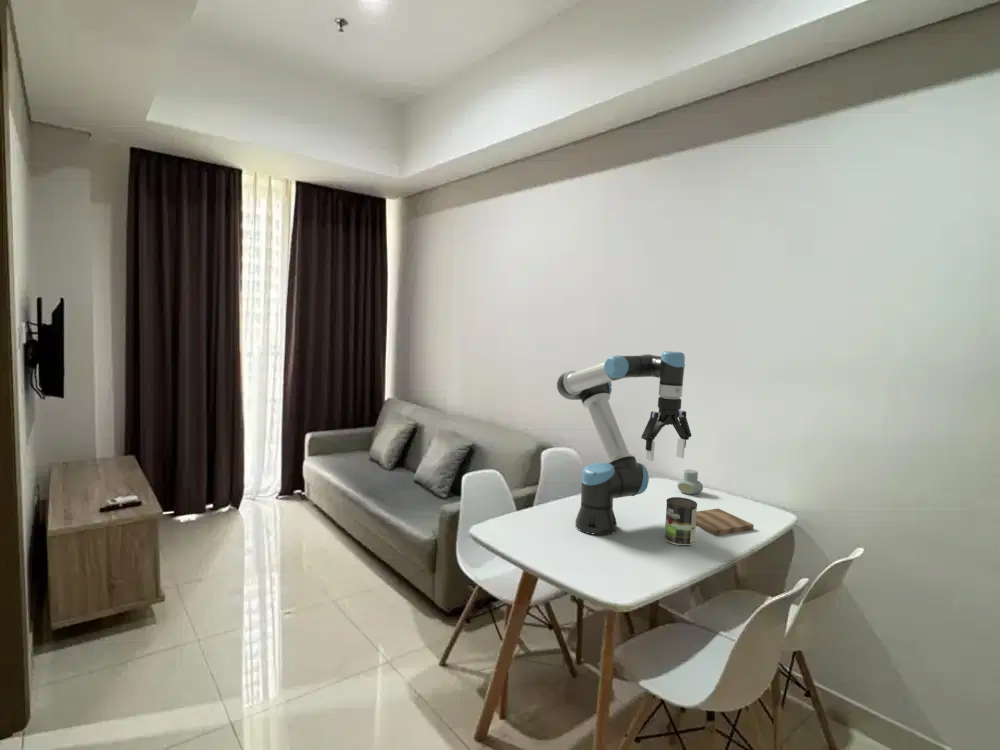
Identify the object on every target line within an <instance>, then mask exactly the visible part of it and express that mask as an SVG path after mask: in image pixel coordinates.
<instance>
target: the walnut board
mask: <svg viewBox="0 0 1000 750" xmlns="http://www.w3.org/2000/svg"><path fill="white" fill-rule="evenodd" d="M697 526H698V528H699V527H700V528H699V529H701V528H702V529H701V530H704V531H705V532H707V533H709V534H711V535H712V534H713V535H712V536H714V535H715V537H717V536H723V535H730V534H736V533H741V532H746V531H747V532H748V531H753V530H754V524H753V523H751V522H749V521H746V520H745V519H742V518H741V517H738V516H736V515H734V514H732V513H729V512H727V511H725V510H723V509H721V508H713V509H705V510H699V511H696V526H695V527H697Z"/></svg>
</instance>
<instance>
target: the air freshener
mask: <svg viewBox="0 0 1000 750" xmlns="http://www.w3.org/2000/svg"><path fill="white" fill-rule="evenodd" d="M698 475H699V471H698V470H695V469H685V470H684V471H683V478H681V479H680V480H678V481H677V489H678V490H679V491H680V492H682V493H683V494H685V495H689V494H692V495H697V494H700V493H702V491H703V489H704V486H703V483H702V482H701V481H700V480H698Z"/></svg>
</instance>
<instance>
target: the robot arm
mask: <svg viewBox="0 0 1000 750" xmlns="http://www.w3.org/2000/svg"><path fill="white" fill-rule="evenodd" d="M685 358H686V357H685V354H684V353H683V352H682V351H671V350H670V351H669V350H667V351H663V352H661V356H659V355H654V354H640V355H613V356H609V357H607V358H606V360H605V361H603V362H600V363H597V364H595V365H592V366H589V367H586V368H584V369H580V370H570V371H566V372H564V373H562V374H561V375H560V376H559V377H558V379H557V381H556V389H557V391H558V393H559V394H560V395H561V396H562V398H564V399H567V400H572V401H575V400H576V401H578V400H581V401H580V402H581V403H582V406H583V407H584V408H586V409H588V411H589V414H590V416H591V420H592V422H593V424H594V427H595V429H596V433H597V435H598V437H599V441H600V443H601V445H602V449H603V451H604V454H605V457H606V459H607V462H595V463H591V464H588V465H586V466H584V467H583V469H582V470H581V471H582V475H581V479H580V481H581V489H580V490H581V493H580V496H581V497H580V506H579V507H580V508H579V510H578V513H577V516H576V518H575V528H576V527H577V528H578V529H580V530H582V531H584V532H588V533H594V534H607V535H609V534H608V533H611V534H613V533H612V532H614V531H615V532H616V531H617V530H616V529H618V523H617V519H616V516H615V511H614V509H613V507H614V506H613V505H614V503H613V502H614V499H620V498H625V497H626V498H627V497H635V496H636V495H642V494H643V493H644V492H645V491H646V490H647V489H648V486H649V480H650V476H649V471H648V469H647V467H646V465H645V464H643V463H640V462H637V461H638V460H636V457H635V456H634V455H633V454H630V453H629V450H628V447H627V445H626V442H625V440H624V436H623V435H622V432H621V430H620V427H619V425H618V423H617V420H616V417H615V414H614V413H613V410H612V407H611V404H610V402H609V400H610V399H611V393H612V390H613V388H612V386H613V385H612V382H615V381H618V380H622V379H627V378H656V379H657V378H658V379H659V385H658V399H657V408H658V411H657V412H656V411H651V412H650V415H649V416H650V417H649V419H648V421H647V424H646V426H645V428H644V429H643V433H642V434H641V439H643V440H645V450H646V457H645V458H646V460H647V461H651V462H654V458H655V457H654V456H655V447H656V442H655V441H654V440H655V438H657V436H658V434H659V433H660V431H661V430H662V429H663V427H665V426H670V425H672V426H673V428H674V430H675V431H676V433H677V435H678V436H679V437H678V438H677V443H676V454H675V455H676V457H677V458H680V459H684V457H685V449H686V446H687V441H688V440H690V438H691V437H692V433H691V427H690V426H689V422H688V419H687V411H686V410H681V408H682V396H683V388H684V387H683V386H684V385H683V383H684V373H685V367H686V364H685V361H686V359H685ZM577 528H576V529H577ZM578 529H577V530H578ZM580 530H579V531H580ZM582 531H581V532H582ZM584 532H583V533H584ZM615 532H614V533H615ZM588 533H587V534H588Z"/></svg>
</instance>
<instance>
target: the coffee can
mask: <svg viewBox="0 0 1000 750" xmlns="http://www.w3.org/2000/svg"><path fill="white" fill-rule="evenodd" d="M665 501H666V510H665V526H664V527H665V528H664V529H665V530H664V540H665V542H667V541H668V542H670V543H669V544H671V543H673V544H676V545H675V546H677V545H691V546H693V545H695V541H696V540H695V538H696V527H697V526H696V512H697V508H698V502H696V501H695V500H694V499H691V498H686V497H681V496H678V497H677V496H676V497H675V496H672V497H668V498H667V499H666V500H665ZM668 542H667V543H668ZM673 544H672V545H673ZM692 544H693V545H692Z"/></svg>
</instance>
